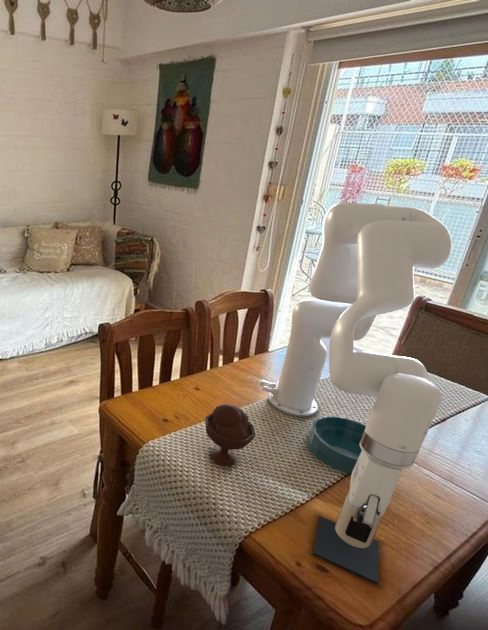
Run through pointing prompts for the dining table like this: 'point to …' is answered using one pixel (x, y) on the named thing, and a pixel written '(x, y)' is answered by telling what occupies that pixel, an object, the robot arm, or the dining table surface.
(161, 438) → the dining table surface
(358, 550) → the slate coaster
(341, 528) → the cream cup
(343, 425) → the teal bowl
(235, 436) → the ice cream bowl
